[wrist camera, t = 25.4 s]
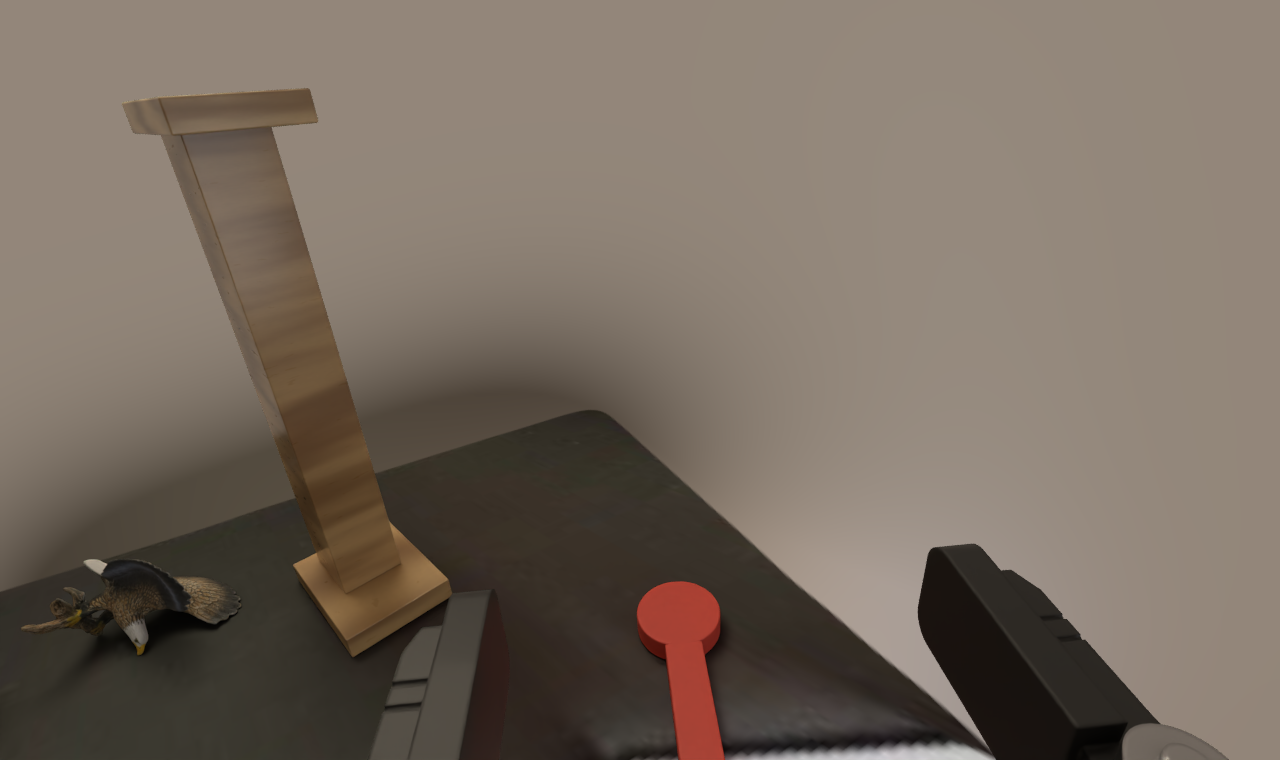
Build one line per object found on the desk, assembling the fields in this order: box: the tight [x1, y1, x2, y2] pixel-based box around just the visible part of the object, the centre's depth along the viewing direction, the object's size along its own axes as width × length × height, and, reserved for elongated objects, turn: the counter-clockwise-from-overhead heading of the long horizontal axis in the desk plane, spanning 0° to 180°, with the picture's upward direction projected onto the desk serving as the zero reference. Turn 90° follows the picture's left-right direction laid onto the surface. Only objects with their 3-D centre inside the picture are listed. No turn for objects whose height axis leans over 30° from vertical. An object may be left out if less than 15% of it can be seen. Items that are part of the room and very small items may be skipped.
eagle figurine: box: [21, 559, 241, 655], centre depth 41 cm, size 8×7×9 cm
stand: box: [122, 88, 452, 657], centre depth 37 cm, size 10×7×32 cm
